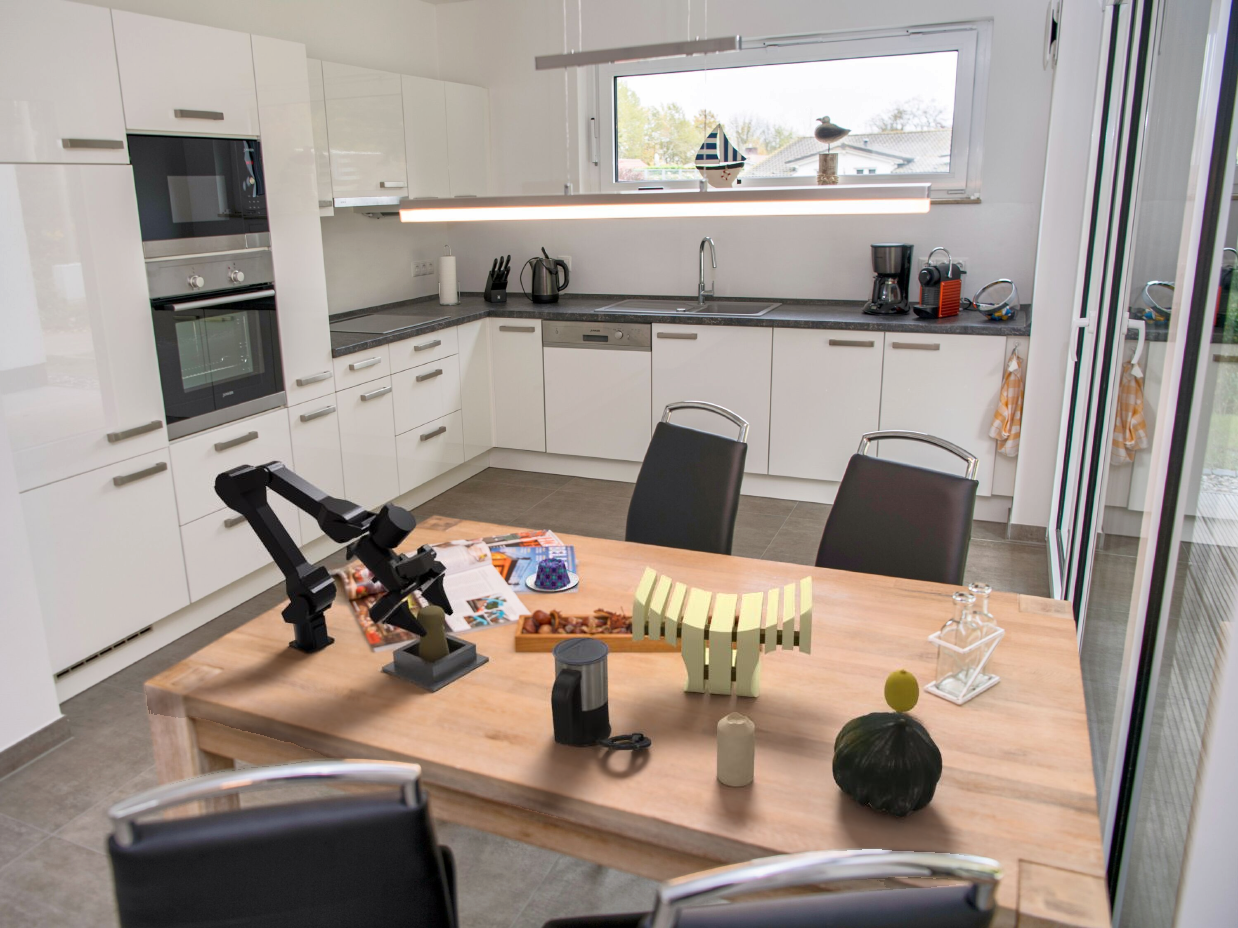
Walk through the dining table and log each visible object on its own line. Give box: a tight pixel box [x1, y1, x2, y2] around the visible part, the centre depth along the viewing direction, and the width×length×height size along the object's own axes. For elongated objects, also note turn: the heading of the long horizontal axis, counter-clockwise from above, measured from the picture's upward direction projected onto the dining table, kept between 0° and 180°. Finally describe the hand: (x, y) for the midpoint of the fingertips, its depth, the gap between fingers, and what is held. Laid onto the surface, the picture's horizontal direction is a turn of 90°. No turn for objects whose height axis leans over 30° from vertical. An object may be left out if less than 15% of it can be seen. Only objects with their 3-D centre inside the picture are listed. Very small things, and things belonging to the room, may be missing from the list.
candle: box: [716, 711, 756, 788], centre depth 135 cm, size 6×6×10 cm
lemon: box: [883, 668, 920, 714], centre depth 151 cm, size 6×6×8 cm
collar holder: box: [381, 632, 490, 693], centre depth 171 cm, size 14×14×4 cm
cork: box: [416, 605, 450, 663], centre depth 169 cm, size 6×6×11 cm
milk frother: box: [550, 637, 652, 751], centre depth 144 cm, size 14×16×15 cm
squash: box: [831, 711, 943, 819], centre depth 129 cm, size 14×15×15 cm
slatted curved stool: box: [631, 565, 813, 698], centre depth 162 cm, size 30×16×18 cm, turn 79°
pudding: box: [525, 557, 580, 592], centre depth 207 cm, size 12×12×5 cm
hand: (439, 624), depth 168 cm, fingers open, 9 cm apart
